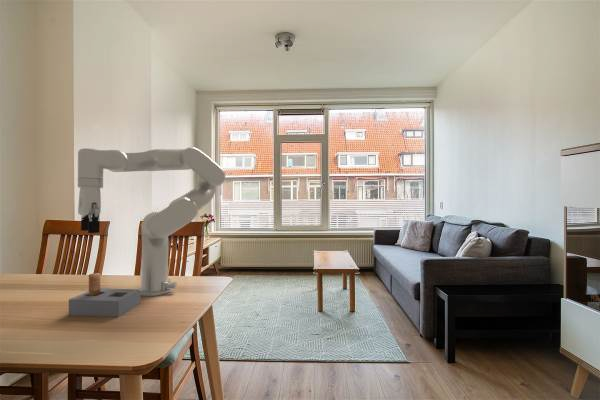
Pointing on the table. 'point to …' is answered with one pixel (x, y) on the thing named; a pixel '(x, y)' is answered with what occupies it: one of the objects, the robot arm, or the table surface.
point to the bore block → (104, 303)
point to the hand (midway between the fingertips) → (90, 231)
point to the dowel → (94, 284)
